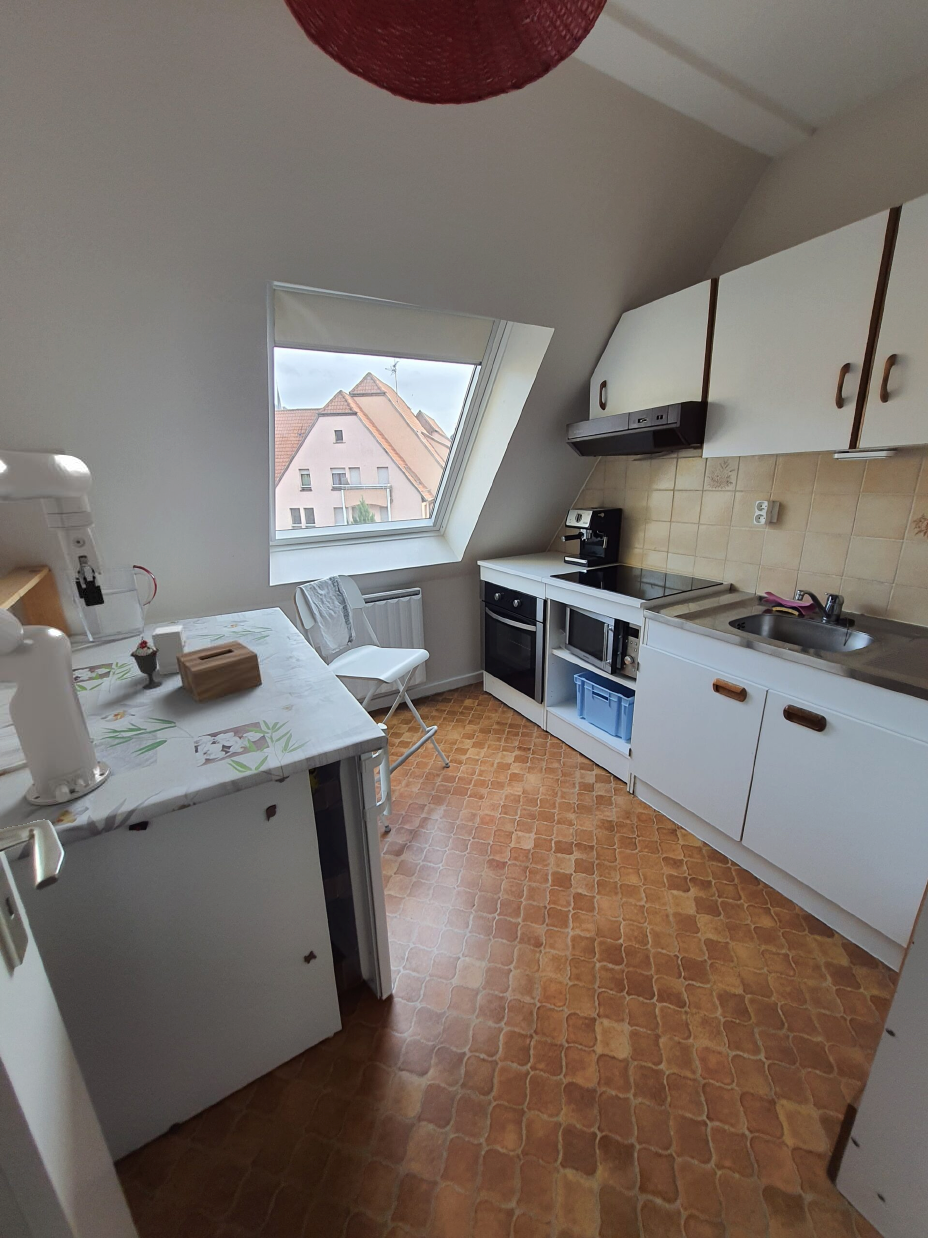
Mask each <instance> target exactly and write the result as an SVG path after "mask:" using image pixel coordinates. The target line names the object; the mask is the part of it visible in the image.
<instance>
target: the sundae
mask: <svg viewBox="0 0 928 1238" xmlns="http://www.w3.org/2000/svg"><path fill="white" fill-rule="evenodd" d="M158 651H159V649H158V648H155V647H154V645H152V644H151V643H150V642H149V641H147V640H146V639H144V636H141V640H140V643H138V645H137V647H136V649H135V650H134V651H132V652H131V653H130V654H129V655H130V656H129V657H131V658H133V659H134V661H135V663H136V665H137V667H138V669H139V671H140V673H142V674H143V675H147V679H148V682H147V683H145V684H143V685H142V686H141V687H142V689H143V690H152V689H157V688H158V687H161V686H162V685H163V684H164V683H163V681H159V680H156V679H155V678H154V673H155V672H156V671H157V670H158V661H157V652H158Z"/></svg>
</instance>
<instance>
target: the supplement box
mask: <svg viewBox="0 0 928 1238" xmlns="http://www.w3.org/2000/svg"><path fill="white" fill-rule="evenodd" d="M151 637H152V638H151V639H152V644H153V647H155V648H158V649H159V651H158V652H157V657H156V658H157V667H158V670H159V675H167V674H168V675H169V674H173V673H175V674H176V673H180V672H179V667H178V663H177V658H176V655H178V654H183V653H187V652H189V649H188V643H187V638H186V634H185V630H184V626H183V624H178V625H172V626H164V627H156V628H155V630H154V631H153V633H152V634H151Z"/></svg>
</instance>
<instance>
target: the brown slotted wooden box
mask: <svg viewBox="0 0 928 1238" xmlns="http://www.w3.org/2000/svg"><path fill="white" fill-rule="evenodd" d="M176 658H177V663H178V667H179V672H178V673H179V675H180V681H181V684H182V687H184V689H185V690H186V691H188V693H190V695H191V696H192V697H193V698H194V699H195V700H196V702H198V703H199V704H202V703H205V702H209V701H211V700H215V699H218V698H221V697H225V696H227V695H228V696H229V695H231V694H235V693H238V692H241V691H244V690H247V689H251V688H253V687H256V686H260V685H262V684H263V682H262V677H261V676H262V675H261V670H260V665H259V657H258V653H256V652H255V651H253V650H252V649H250V648H248V647H247V646H245V645H244V644H243V643H241V642H240V641H237V640H233V641H228V642H224V643H220V644H216V645H211V646H208V647H204V648H200V649H195V650H192V651H188V652H187V653H183V654H178V655H176Z"/></svg>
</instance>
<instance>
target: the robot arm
mask: <svg viewBox="0 0 928 1238" xmlns="http://www.w3.org/2000/svg"><path fill="white" fill-rule="evenodd" d="M92 479H93V478H92V474H91V471H90V469H89V468H88V467H87V465H86V464H85V463H84V462H83V461H82V460H81V459H79V458H78V457H76V456H74V455H69V454H61V453H60V454H58V453H46V452H45V453H44V452H27V451H15V450H14V451H13V450H4V449H0V504H4V503H5V504H8V503H15V502H23V501H24V502H26V501H30V500H31V501H32V500H40V502H41V506H42V511H43V512H44V516H45V520H46V523H47V526H48V530H49V531H57V535H58V536H57V537H58V538H59V543H60V546H61V550H62V552H63V556H64V559H65V562H66V564H67V567H68V568H69V569H68V570H69V571H70V573H71V574H72V575H73V577H74V578H75V581H74V582H75V586H76V589H77V593H78V597H79V599H82V600H83V602H84V605H85V606H86V607H93V606H101V605H104V604H105V599H104V597H103V595H104V594H103V592H102V588H101V584H99V580H98V578H97V575H96V574H98V575H102V574H103V572H104V571H103V568H102V565H101V561H100V559H99V554H98V552H97V548H96V543H95V541H94V538H93V534H92V532H91V529H90V528H95V521H94V519H93V515H92V511H91V506H90V503H89V498H88V495H87V494H88V493H89V492H90V489H91V488H92V483H93V480H92ZM73 670H74V669H73V658H72V646H71V642H70V639H69V637H68V635H67V634H66V633H64V632H63V631H62V630H60V629H58V628H57V627H53V626H50V625H49V626H48V625H39V624H38V625H34V624H33V625H31V624H30V625H22V623H21V622H20V620H19V619H18V618H17V617H16V616H14V615H13V614H12V613H11V612H10V611H8V610H7V609H5V608H3V607H1V606H0V684H11V683H12V684H14V683H15V684H16V685H17V688H16V690H15V692H14V694H13V695H12V698H11V700H10V702H9V706H8V707H9V708H8V710H9V716H10V719H11V721H12V725H13V727H14V730H15V732H16V736H17V739H18V741H19V744H20V747H21V750H22V753H23V756H24V758H25V762H26V765H27V767H28V770H29V773H30V776H31V779H32V783H31V784H30V785H29V786H28V788H27V789H26V791H25V798H26V800H27V802H28V803H29V804H31V805H34V806H52V805H58V804H61V803H65V802H70V801H72V800H74V799H76V798H80V797H82V796H84V795H86V794H88V793H90V792H92V791H93V790H96V789H97V788H98V787H101V785H102V784H103V783H105V782H106V781H107V779H109V777H110V774H111V768H110V764H108V763H107V762H106V761H102V760H97V759H98V757H97V756H96V753H95V749H94V746H93V742H92V739H91V736H90V732H89V728H88V725H87V721H86V719H85V715H84V711H83V707H82V704H81V702H80V698H79V694H78V691H77V688H76V683H75V679H74V672H73Z"/></svg>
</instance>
